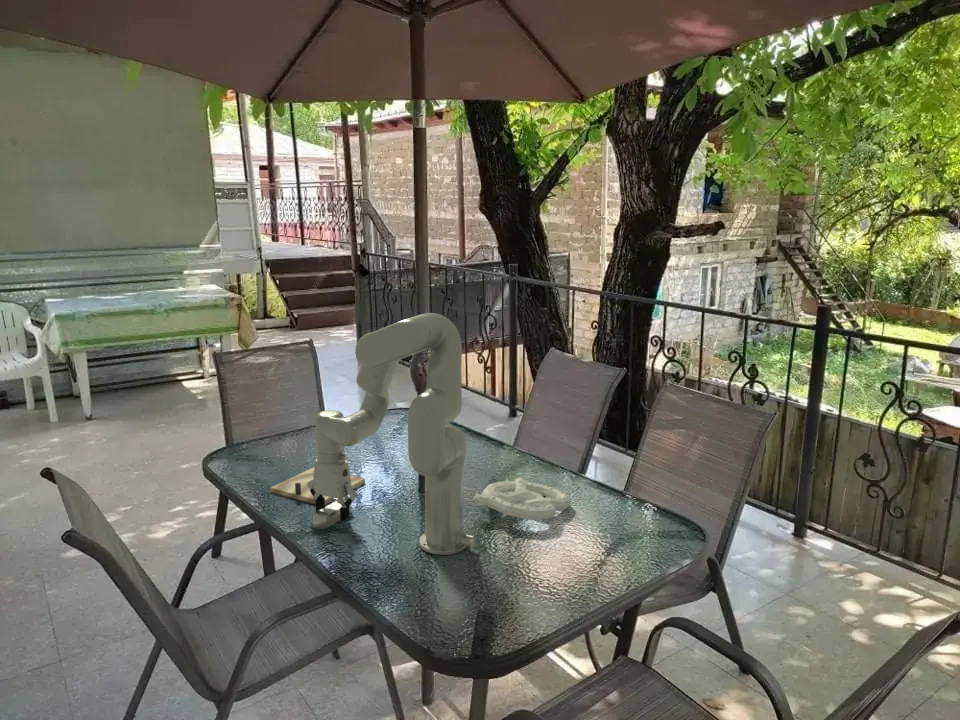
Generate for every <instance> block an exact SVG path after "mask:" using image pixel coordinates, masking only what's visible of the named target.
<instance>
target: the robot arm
mask: <svg viewBox="0 0 960 720" xmlns="http://www.w3.org/2000/svg"><path fill="white" fill-rule="evenodd" d="M462 346H463V345H462V339H461V335H460V332H459V331H458V329H457V326H456V325H455V324H454V323H453V322H452V321H451V320H450V319H449V318H447V317H446V316H444V315H442V314H439V313H437V312H436V313H434V312H427V313H426V312H425V313H422V314H418V315H414V316H412V317H408V318H405V319H402V320H400V321H397V322H395V323H392V324H390V325H388V326H384V327H382V328H379V329H377V330H375V331H372V332H369V333H365V334H364V335H362V336H361V337H360V338H359V339H358V341H357V343H356V345H355V349H354V350H355V353H354V354H355V357H356V360H357V362H358V363H359V364H360V368H359V371H358V373H357V375H356V384H357V386H358V387H359V388H360V389H361V390H363V391H364V392H365V395H364V398H363V401H362V404H361V406H360V408H359V410H358V411H356V412H353V413H351V414H350V415H346V416H344V414H343V413H342V412H341V411H339V410H335V409H334V410H333V409H329V410H327V409H325V410H322V411H320V412H318V413H317V414H316V415H315V443H316V444H315V445H316V459H315V461H314V466H313V467H314V479H313V480H311V481H309V482H308V483H307V485H308V487H309V489H310V492H311V494H312V495H313V499H314V500H315V504H314V505H315V512H317V511H319V510H321V509H323V508H324V507H326V505H325V498H324V497H322V496H323V495H325V496H328V497H332V498H336V499H335V500H339V502H340V504H341V506H342V507H341V508H340V520H339V521H341V522H344V521H346V520H348V519H349V518H350V515H351V514H350V507H349V505H351V506H352V504H353V503H354V502H355V500H356V499H357V498H358V497H357V496H358V493H357V492H356V491H355V489H352V487H351V476H350V475H351V469H350V466H349V465H350V464H349V462H348V455H346V447H353V446H355V445H357V444H359V443H361V442H362V441H364V440H366V439H368V438H370V437H371V436H373V435H375V434H376V433H377V432H378V430H379V429H380V427H381V426H382V424H383V421H384V418H385V416H386V414H387V411H388V407H389V403H390V402H389V399H390V395H389V392H388V391H389V387H390V386H391V382H392V380H393V377H394V375H395V372H396V370H397V368H398V366H399V364H400V363H399V362H400V360H402V359H405V358H408V357H412V356H413V355H416V354H420V353H421V352H424V351H427V350H429V356H428V359H427V365H426V387H425V391H424V392H422V393H420V394H418V395H417V396H416V397H414V398H413V400H412V401H411V403H410V406H409V408H408V413H407V448H408V449H407V451H408V459H409V462H410V465H411V466H412V468H413V470H414V471H415V472H416V473H418V474H419V475H420V476H424V477H425V478H424V479H425V482H424V483H425V484H424V495H425V496H424V500H425V501H424V509H425V511H424V513H425V514H424V517H425V518H424V519H425V520H424V522H425V523H424V528H425V530H424V533H423V534H422V535H421V536H420V537H419V540H418V541H419V542H418V544H419V547H420V548H421V549H422V550H423V551H425V552H427V553H429V554H433V555H438V556H448V555H454V554H458V553H460V552H463V551H464V550H465V549H467V548H472V549H473V548H474V547H475V536H474V535H471V534H467V528H466V527H465V526H463V492H464V491H463V490H464V489H463V488H464V485H463V483H464V482H463V481H464V467H465V460H466V454H467V440H466V437H465V435H464V433H463V432H462V431H461V429H460V428H458V427H456V426H455V425H453V424H452V425H451V424H450V423H452V422H453V421H454V420H455V419H457V418H458V417H459V416H460V413H461V411H462V405H463V404H462V403H463V402H462V399H463V398H462V394H463V393H462V385H463V384H462V383H463V382H462V361H463V360H462V359H463V358H462V357H463V354H462V353H463V347H462ZM343 498H345V500H346V502H345V501H344V499H343Z"/></svg>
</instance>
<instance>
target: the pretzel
mask: <svg viewBox="0 0 960 720" xmlns="http://www.w3.org/2000/svg"><path fill="white" fill-rule="evenodd" d="M544 496H545V497H544ZM473 502H474V504H475V505H476V506H477V507H481V506H488V508H491V509H493V510H495V511H498V512H499V513H502V514H504V515H507V516H509V517H514V518H520V519H525V520H528V521H529V520H531V521H533V520H534V521H537V520H539V521H541V520H549V519H551V518H554V517H555V516H556V513H557V511H558V512H562V511H564V510H566V509H567V507H568V508H569V507H570V505H571V499H570V498H569V496H568V494H566V493H565V492H564V491H562V490H559V488H557V487H556V488H553V487H551V486H549V485H545V484H542V483H535V482H529V481H526V479H525V478H522V477H518V478H515V480H508V479H506V480H504V481H499V480H498V481H496V482H493V483H489V484H488V485H487V486H486V487H485V488H484V489H483V491H482V492H481V494H480V493H477V494H475V496H473Z"/></svg>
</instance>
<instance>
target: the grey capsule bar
mask: <svg viewBox="0 0 960 720" xmlns="http://www.w3.org/2000/svg"><path fill="white" fill-rule="evenodd" d="M343 499H344V501H345V502H346V500H345V498H343ZM341 507H342V506H341V504H340V502H339V500H338V499H336V500H334V501H332V503H329V504H328V505H325V507H324V508H323V509H321V510H319V511H317V512H316V511H315V512H314V513H313V514H312V524H313V526H312V527H313V529H315V530H320V531H322V530H325V529H327V528H329V527H331V526H332V525H335V524H336V523H338V522H340V521H341V520H340V508H341ZM349 507H350V515H351V514H352V508H353V507H352V504H351V505H349Z"/></svg>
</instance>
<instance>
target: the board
mask: <svg viewBox="0 0 960 720" xmlns="http://www.w3.org/2000/svg"><path fill="white" fill-rule="evenodd" d="M350 476H351V487H352V489H353V490H355V489H357V488H358V487H361V486H362V485H364V484H366V478H364V477H360V476H356V475H351V474H350ZM313 479H314V466H313V467H312V468H309V469H307V470H305V471H303V472H300V473H299V474H296V475H295V476H293V477H290V478H288V479H286V480H284V481H282V482H280V483H278V484H275V485H273V486H271V487H270V492H271V493H273V494H276V495H279V496H284V497H287V498H290V499H295V500H299V501H300V502H301V501H302V502H306V503H309V504H312V505H315V500H314V499H313V495H312V494H311V492H310V489H309V487H308V485H307V483H308V482H309V481H311V480H313ZM322 497H324V498H325V506H327V504H328V505H329V504H330V503H331V502H334V501H336V500H337V499H336V498H332V497H328V496H325V495H323V496H322Z"/></svg>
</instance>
